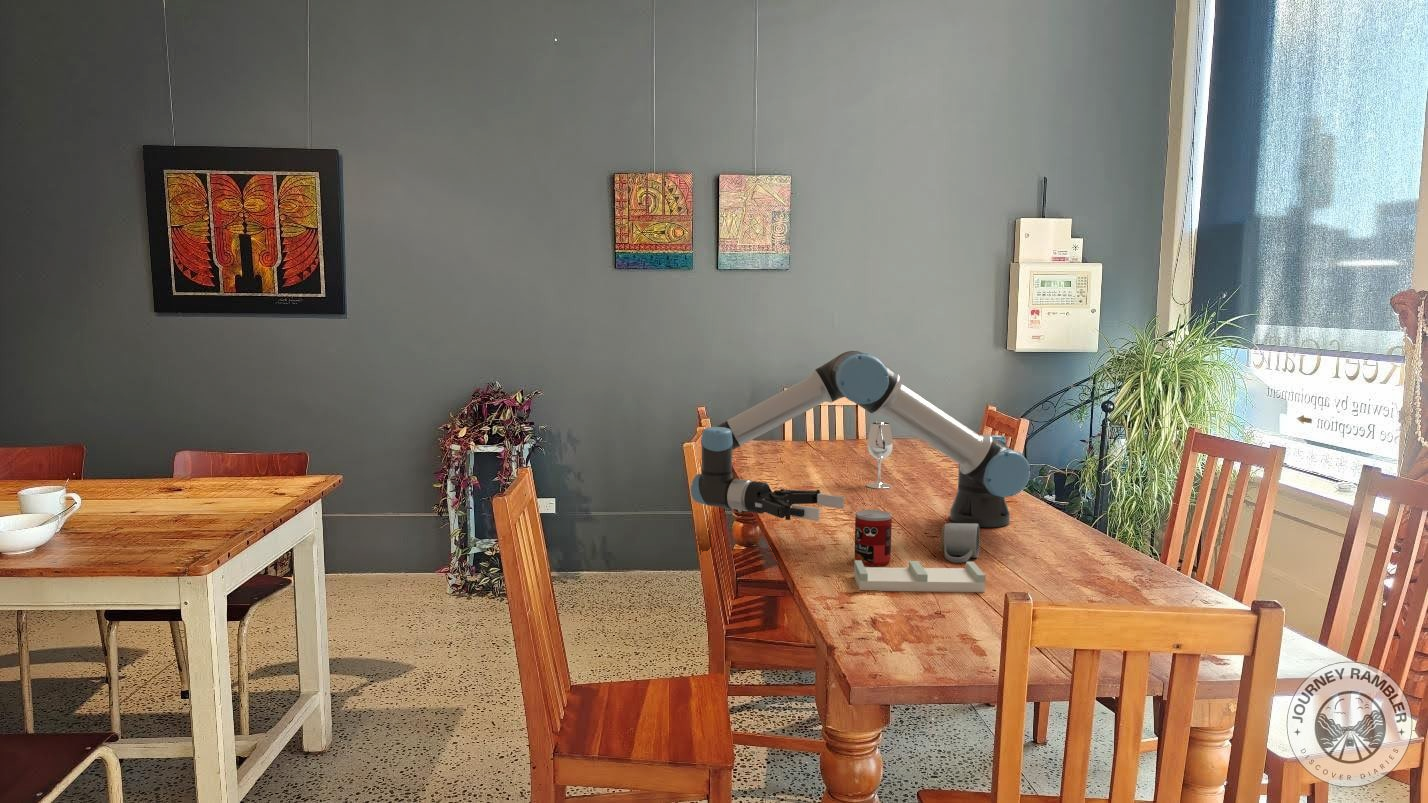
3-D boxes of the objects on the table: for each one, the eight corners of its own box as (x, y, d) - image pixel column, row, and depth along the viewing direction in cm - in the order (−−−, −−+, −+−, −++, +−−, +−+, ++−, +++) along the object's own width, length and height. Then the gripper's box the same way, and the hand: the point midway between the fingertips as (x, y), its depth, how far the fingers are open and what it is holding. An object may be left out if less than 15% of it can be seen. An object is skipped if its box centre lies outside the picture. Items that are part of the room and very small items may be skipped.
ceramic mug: (943, 548, 202) (944, 517, 201) (979, 552, 199) (980, 520, 198) (937, 562, 193) (938, 528, 192) (975, 566, 190) (976, 532, 189)
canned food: (848, 558, 194) (849, 511, 193) (878, 555, 197) (880, 508, 196) (865, 568, 187) (866, 519, 186) (897, 564, 190) (898, 516, 189)
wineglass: (877, 482, 275) (878, 420, 272) (896, 486, 269) (898, 423, 266) (861, 485, 270) (862, 423, 267) (880, 490, 264) (882, 425, 261)
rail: (972, 577, 181) (973, 561, 181) (984, 592, 172) (985, 575, 172) (853, 576, 182) (854, 560, 182) (859, 590, 173) (860, 573, 173)
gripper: (774, 501, 218) (852, 513, 207) (723, 522, 197) (807, 537, 186) (774, 472, 217) (853, 483, 206) (724, 490, 196) (808, 503, 185)
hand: (831, 508), depth 196 cm, fingers open, 13 cm apart
